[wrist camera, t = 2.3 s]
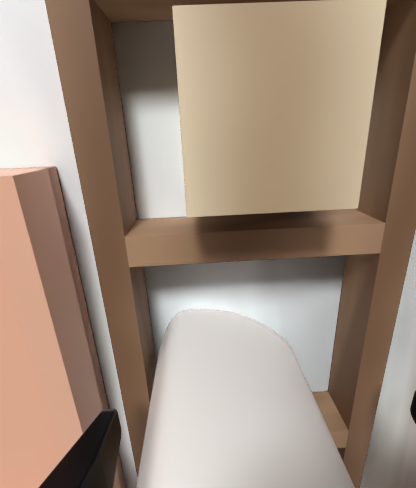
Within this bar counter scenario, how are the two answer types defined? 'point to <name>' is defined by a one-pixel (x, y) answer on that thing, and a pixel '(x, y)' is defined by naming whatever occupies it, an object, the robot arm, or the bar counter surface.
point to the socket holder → (245, 217)
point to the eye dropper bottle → (233, 411)
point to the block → (275, 103)
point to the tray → (42, 333)
